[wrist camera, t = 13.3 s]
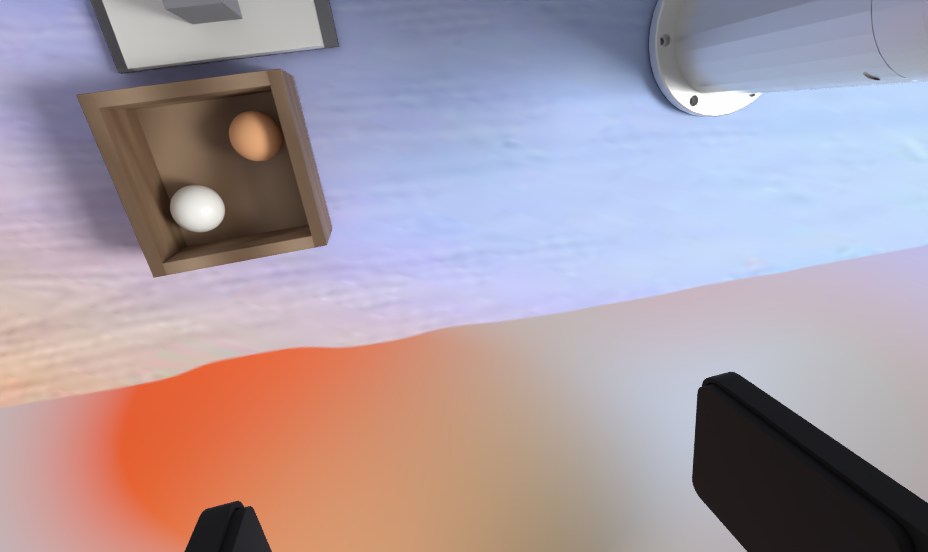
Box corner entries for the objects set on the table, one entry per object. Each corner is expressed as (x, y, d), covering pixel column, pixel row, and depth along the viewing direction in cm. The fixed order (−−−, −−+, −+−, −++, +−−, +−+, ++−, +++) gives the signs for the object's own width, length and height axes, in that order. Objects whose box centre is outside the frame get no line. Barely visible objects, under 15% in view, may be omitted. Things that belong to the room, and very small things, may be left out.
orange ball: (278, 108, 30) (268, 106, 27) (291, 155, 31) (283, 159, 28) (230, 115, 30) (214, 114, 27) (245, 162, 31) (231, 167, 28)
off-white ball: (222, 178, 31) (206, 184, 28) (236, 222, 32) (223, 232, 29) (174, 186, 30) (153, 193, 27) (190, 230, 32) (172, 241, 29)
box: (293, 76, 30) (280, 68, 26) (332, 228, 34) (326, 245, 30) (123, 99, 29) (76, 94, 24) (184, 255, 33) (154, 277, 28)
